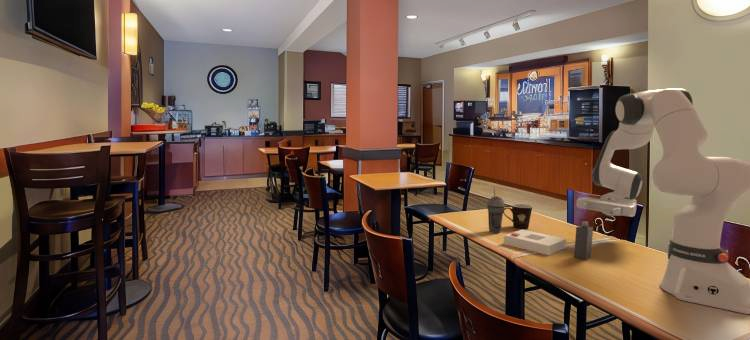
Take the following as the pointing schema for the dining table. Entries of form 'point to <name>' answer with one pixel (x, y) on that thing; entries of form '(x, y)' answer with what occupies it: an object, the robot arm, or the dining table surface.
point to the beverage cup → (495, 213)
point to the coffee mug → (520, 215)
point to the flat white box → (535, 242)
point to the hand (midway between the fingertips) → (598, 209)
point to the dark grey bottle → (583, 241)
